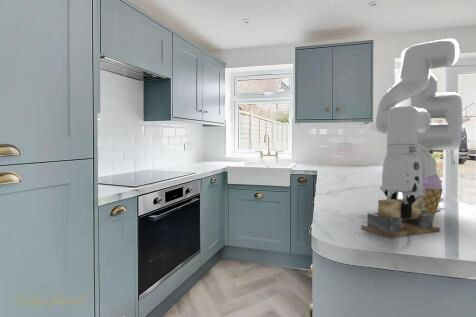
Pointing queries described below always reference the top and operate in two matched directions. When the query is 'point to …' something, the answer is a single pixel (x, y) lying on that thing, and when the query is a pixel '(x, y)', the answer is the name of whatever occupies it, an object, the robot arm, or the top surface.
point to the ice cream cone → (431, 193)
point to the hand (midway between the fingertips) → (399, 215)
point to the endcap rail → (400, 225)
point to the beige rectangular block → (397, 208)
